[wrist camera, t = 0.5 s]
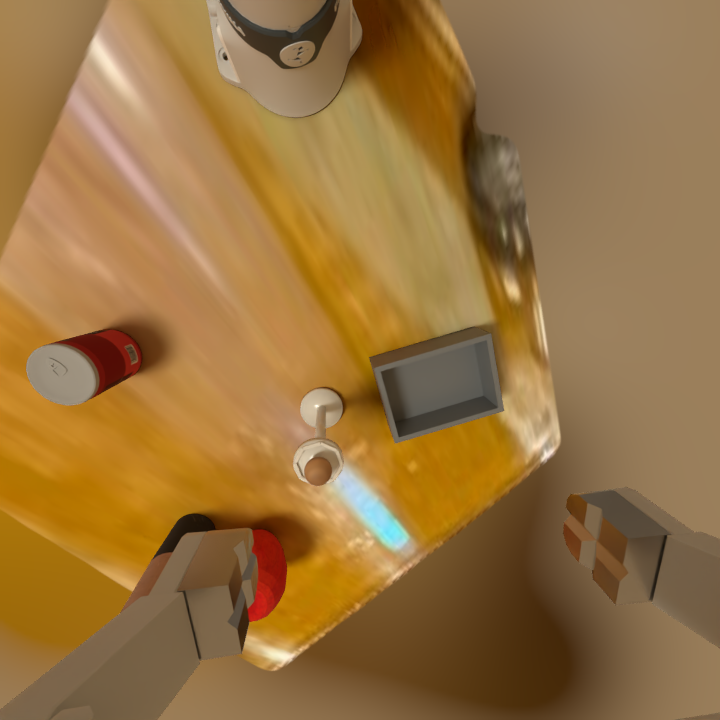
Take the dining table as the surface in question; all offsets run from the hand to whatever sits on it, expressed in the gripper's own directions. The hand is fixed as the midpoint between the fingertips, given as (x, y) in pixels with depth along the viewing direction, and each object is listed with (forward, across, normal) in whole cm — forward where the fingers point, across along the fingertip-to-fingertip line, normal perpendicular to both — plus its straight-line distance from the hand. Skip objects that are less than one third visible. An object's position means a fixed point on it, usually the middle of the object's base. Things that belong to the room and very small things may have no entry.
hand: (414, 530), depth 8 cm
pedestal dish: (+46, +5, +15) cm, 48 cm away
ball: (+27, +5, +16) cm, 32 cm away
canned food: (+46, +35, +4) cm, 58 cm away
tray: (+46, -14, +12) cm, 49 cm away
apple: (+46, +18, +41) cm, 64 cm away
